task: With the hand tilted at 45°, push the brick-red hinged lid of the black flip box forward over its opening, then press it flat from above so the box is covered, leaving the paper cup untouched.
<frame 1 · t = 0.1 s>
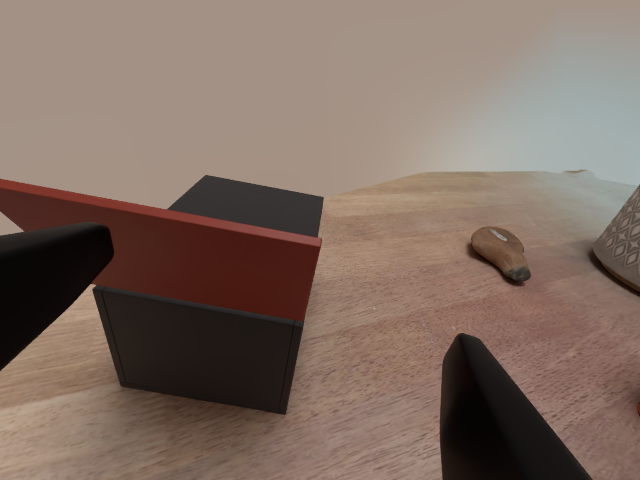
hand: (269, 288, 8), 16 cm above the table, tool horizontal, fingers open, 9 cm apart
lid: (178, 265, 13), point 12 cm above the table, hinge at 115.0°
oil lamp: (494, 262, 43), on the table
black flip box: (237, 317, 27), on the table
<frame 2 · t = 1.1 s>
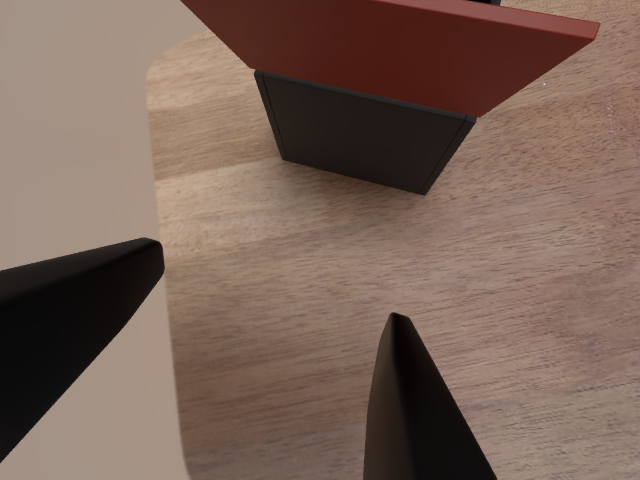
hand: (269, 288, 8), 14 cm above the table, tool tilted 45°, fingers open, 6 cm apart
lid: (355, 54, 11), point 12 cm above the table, hinge at 115.0°
black flip box: (376, 94, 25), on the table
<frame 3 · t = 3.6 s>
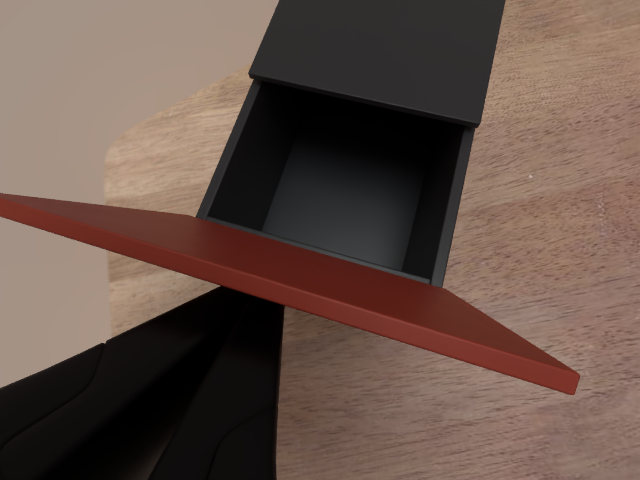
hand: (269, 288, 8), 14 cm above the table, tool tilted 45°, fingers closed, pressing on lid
lid: (287, 261, 9), point 13 cm above the table, hinge at 106.3°, touching gripper
black flip box: (349, 185, 23), on the table
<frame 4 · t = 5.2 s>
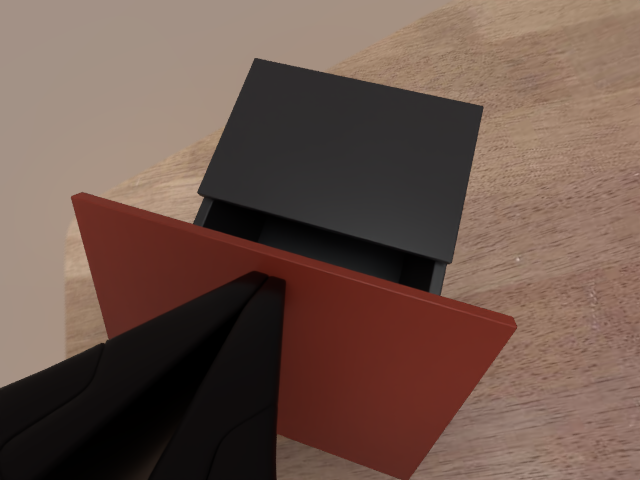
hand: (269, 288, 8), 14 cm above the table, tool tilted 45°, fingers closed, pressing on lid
lid: (263, 354, 9), point 12 cm above the table, hinge at 44.8°, touching gripper
black flip box: (325, 267, 22), on the table
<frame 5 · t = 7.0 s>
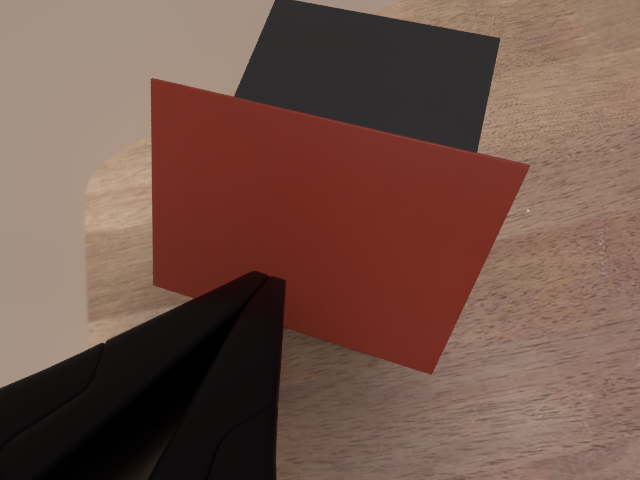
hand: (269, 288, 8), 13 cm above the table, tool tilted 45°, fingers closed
lid: (303, 236, 10), point 11 cm above the table, hinge at 36.5°
black flip box: (339, 219, 22), on the table
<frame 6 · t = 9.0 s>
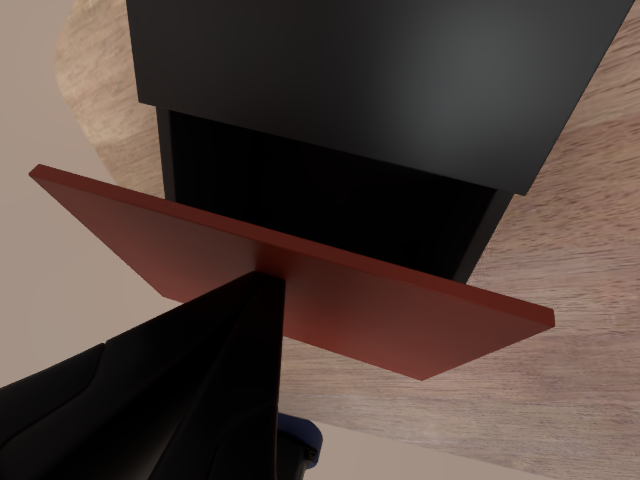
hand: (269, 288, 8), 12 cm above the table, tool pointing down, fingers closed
lid: (279, 300, 9), point 11 cm above the table, hinge at 28.0°
black flip box: (360, 108, 16), on the table
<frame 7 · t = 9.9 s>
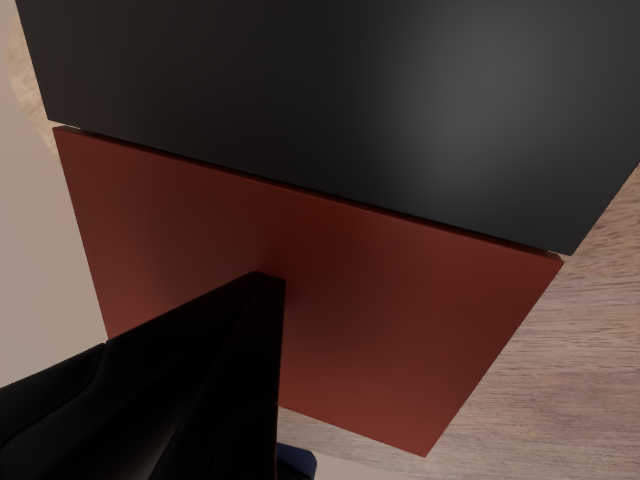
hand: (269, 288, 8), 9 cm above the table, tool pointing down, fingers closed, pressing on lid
lid: (268, 313, 8), point 9 cm above the table, hinge at -0.3°, touching gripper
black flip box: (352, 117, 14), on the table
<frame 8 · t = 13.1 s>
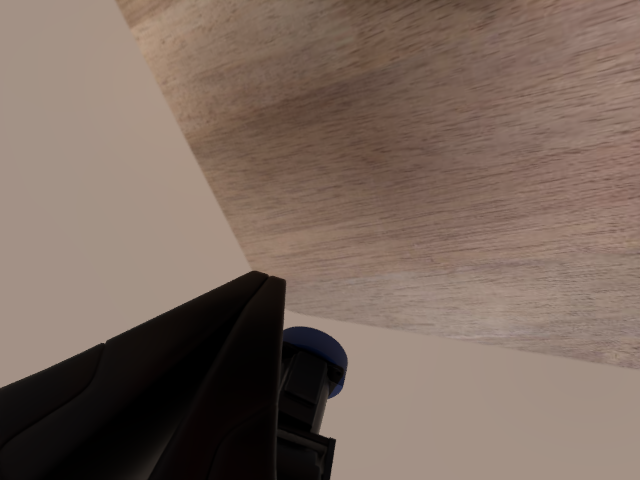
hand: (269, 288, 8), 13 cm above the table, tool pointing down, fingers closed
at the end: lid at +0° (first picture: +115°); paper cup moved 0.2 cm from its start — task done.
